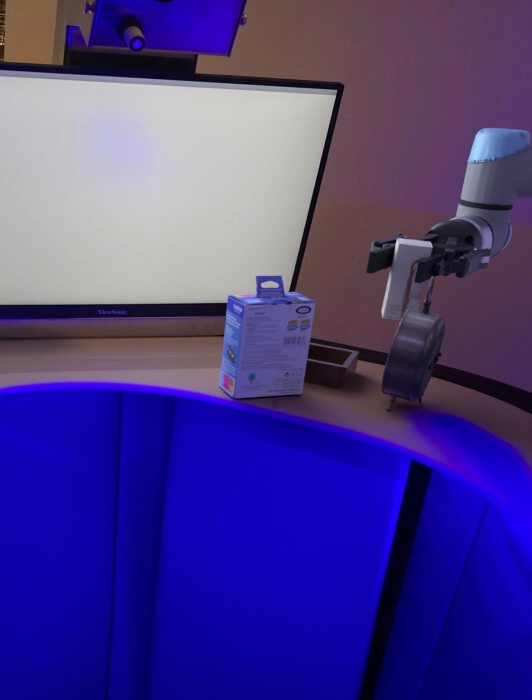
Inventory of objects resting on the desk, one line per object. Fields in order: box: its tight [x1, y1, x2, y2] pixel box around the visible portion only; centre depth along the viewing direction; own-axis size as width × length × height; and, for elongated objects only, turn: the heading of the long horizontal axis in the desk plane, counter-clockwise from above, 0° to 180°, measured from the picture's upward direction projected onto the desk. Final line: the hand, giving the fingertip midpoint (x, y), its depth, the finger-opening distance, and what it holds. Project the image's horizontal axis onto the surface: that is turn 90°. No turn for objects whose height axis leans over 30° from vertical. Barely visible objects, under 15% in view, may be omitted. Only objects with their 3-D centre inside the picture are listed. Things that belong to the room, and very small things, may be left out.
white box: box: [381, 238, 433, 322], centre depth 113 cm, size 5×4×10 cm
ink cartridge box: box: [218, 275, 317, 400], centre depth 106 cm, size 10×6×14 cm, turn 106°
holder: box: [304, 342, 360, 390], centre depth 115 cm, size 8×8×3 cm
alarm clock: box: [380, 276, 446, 413], centre depth 103 cm, size 11×5×16 cm, turn 149°
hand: (394, 267), depth 108 cm, fingers closed on white box, 6 cm apart
